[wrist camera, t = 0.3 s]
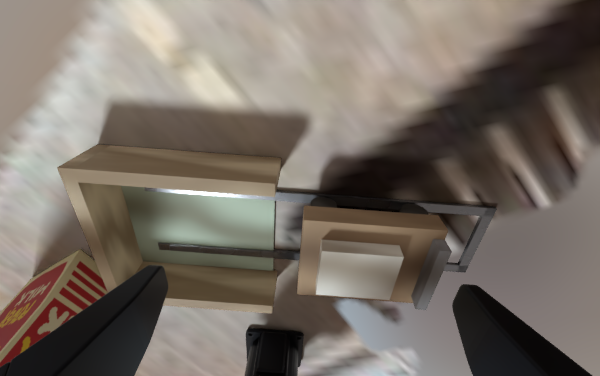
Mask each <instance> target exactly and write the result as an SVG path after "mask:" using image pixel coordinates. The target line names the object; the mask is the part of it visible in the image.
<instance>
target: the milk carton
mask: <svg viewBox="0 0 600 376" xmlns="http://www.w3.org/2000/svg"><path fill="white" fill-rule="evenodd" d="M107 293H108V291H107V289H106V287H105V284H104V282H103V279H102V277H101V274H100V272H99V269H98V267H97V264H96V262H95V261H94V260H93V259H92V258H91V257H89V256H88V255H87V254H86V253H84V252H83V251H82V250H81V249H79V250H78V251H76V252H74V253H73V254H71V255H69V256H68V257H66V258H64V259H63V260H61V261H59V262H58V263H56V264H54V265H53V266H51V267H49V268H48V269H46V270H45V271H43V272H41V273H40V274H38V275H37V276H35V277H33V278H32V279H30V281H29V282H28V283H27V284H26V285H25V286H24V287H23V288H22V289H21V290H20V292H19V293H18V294H17V295H16V296H15V297H14V298H13V299H12V300H11V301H10V303H9V304H8V305H7V306H6V307H5V308H4V309H3V310H2V311H1V312H0V367H1V366H3V365H4V364H6V363H7V362H11V360H12V359H13V358H14V357H16V356H17V355H19V354H20V353H22V352H23V351H25V350H26V349H27V348H29V347H30V346H32V345H33V344H35V343H36V342H38V341H39V340H40V339H42V338H43V337H45V336H46V335H48V334H49V333H51V332H52V331H53V330H55V329H56V328H58V327H59V326H61V325H62V324H64V323H65V322H66V321H68V320H69V319H71V318H72V317H74V316H75V315H77V314H78V313H79V312H81V311H82V310H84V309H85V308H87V307H88V306H90V305H91V304H92V303H94V302H95V301H97V300H98V299H100V298H101V297H103V296H104V295H105V294H107Z"/></svg>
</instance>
